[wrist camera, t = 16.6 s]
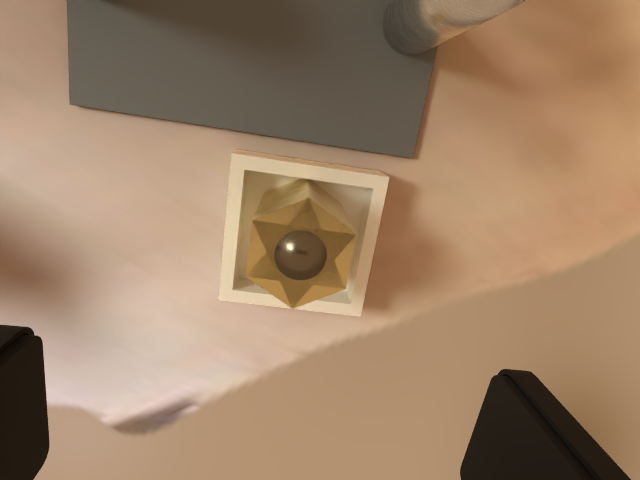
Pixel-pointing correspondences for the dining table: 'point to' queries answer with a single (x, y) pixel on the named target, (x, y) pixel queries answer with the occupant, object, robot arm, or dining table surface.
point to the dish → (339, 181)
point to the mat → (252, 68)
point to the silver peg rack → (435, 21)
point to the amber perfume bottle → (300, 244)
